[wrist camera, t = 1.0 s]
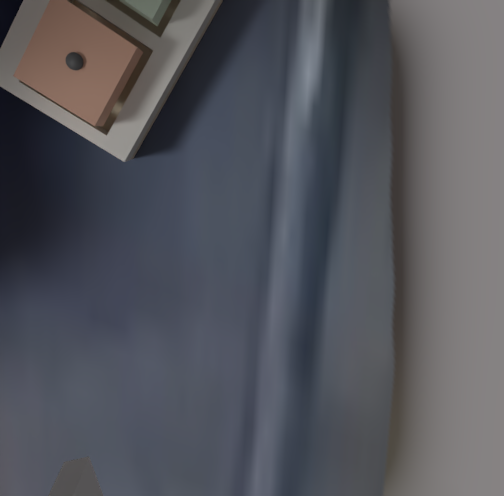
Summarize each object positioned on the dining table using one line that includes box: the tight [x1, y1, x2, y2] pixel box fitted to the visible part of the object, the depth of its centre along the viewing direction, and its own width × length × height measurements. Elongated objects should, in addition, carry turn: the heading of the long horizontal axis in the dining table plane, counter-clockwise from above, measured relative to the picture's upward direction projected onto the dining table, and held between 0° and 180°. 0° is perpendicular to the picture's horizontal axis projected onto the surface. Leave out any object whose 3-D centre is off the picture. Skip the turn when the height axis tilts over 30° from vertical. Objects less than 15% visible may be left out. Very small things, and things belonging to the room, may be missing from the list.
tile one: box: [13, 0, 143, 126], centre depth 31 cm, size 6×6×2 cm
